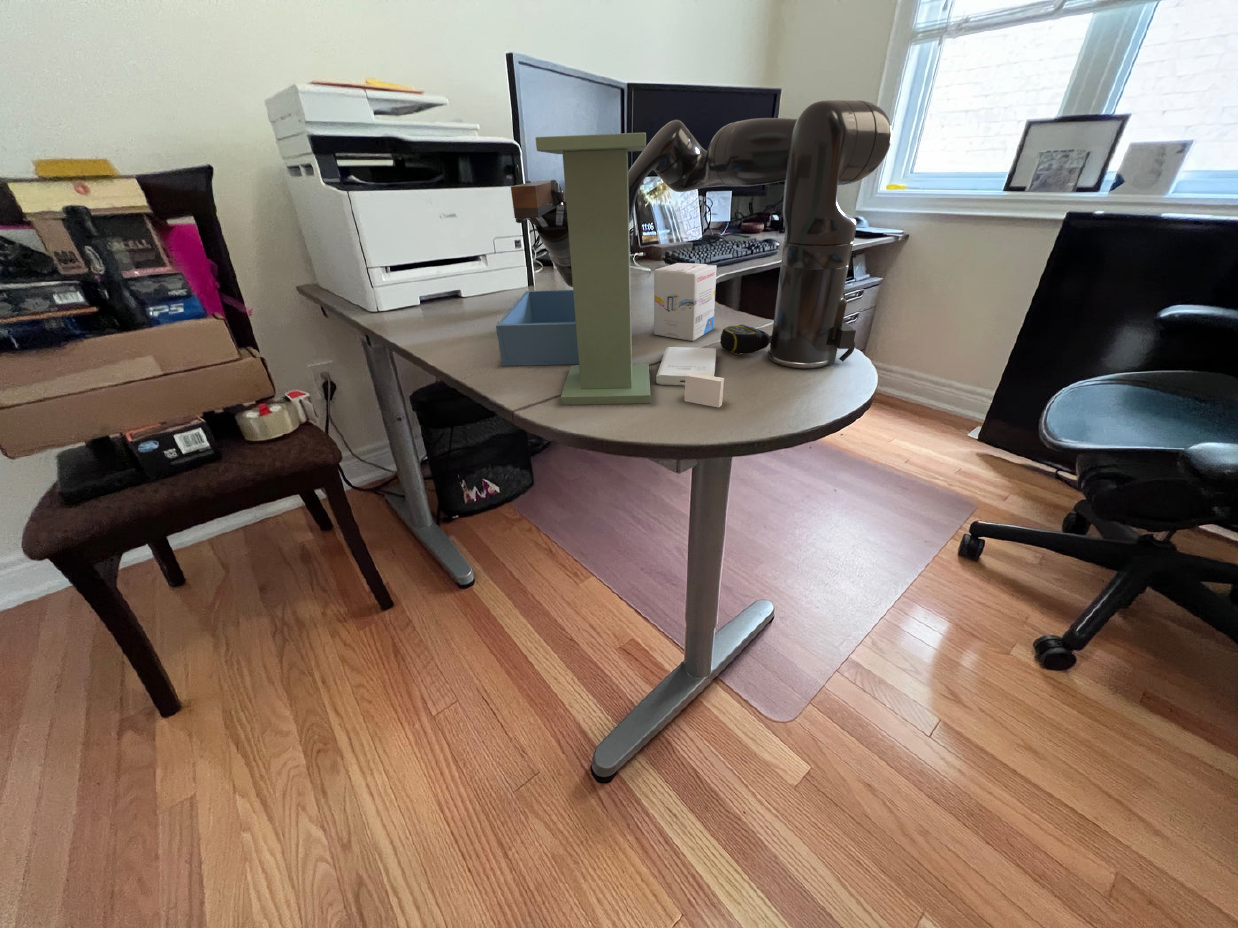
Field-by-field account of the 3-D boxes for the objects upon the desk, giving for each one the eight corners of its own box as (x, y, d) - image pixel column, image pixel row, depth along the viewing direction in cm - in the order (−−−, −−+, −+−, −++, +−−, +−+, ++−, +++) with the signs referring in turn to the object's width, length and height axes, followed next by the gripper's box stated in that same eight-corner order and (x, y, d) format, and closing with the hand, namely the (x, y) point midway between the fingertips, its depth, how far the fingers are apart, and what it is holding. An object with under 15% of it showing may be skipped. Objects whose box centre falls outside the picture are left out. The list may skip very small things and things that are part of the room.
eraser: (719, 407, 64) (721, 381, 62) (684, 401, 66) (685, 375, 64) (722, 404, 65) (724, 377, 63) (687, 398, 67) (688, 372, 65)
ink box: (675, 323, 98) (677, 261, 91) (714, 329, 93) (718, 264, 87) (652, 335, 92) (652, 268, 86) (692, 342, 87) (695, 272, 81)
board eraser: (558, 206, 87) (556, 180, 85) (538, 217, 70) (535, 185, 68) (539, 206, 88) (536, 181, 85) (514, 218, 71) (510, 186, 68)
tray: (595, 322, 100) (594, 289, 97) (585, 364, 79) (582, 323, 76) (530, 324, 101) (525, 291, 97) (502, 366, 80) (495, 325, 76)
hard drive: (715, 358, 80) (713, 387, 70) (665, 356, 81) (655, 384, 71) (716, 348, 79) (714, 376, 69) (666, 346, 81) (655, 373, 70)
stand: (648, 366, 77) (647, 139, 62) (650, 409, 64) (651, 132, 48) (572, 368, 78) (553, 143, 62) (559, 411, 64) (530, 137, 49)
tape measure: (770, 353, 81) (773, 330, 79) (737, 361, 78) (740, 338, 76) (742, 342, 86) (744, 321, 84) (711, 349, 83) (712, 327, 81)
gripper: (523, 214, 98) (497, 164, 80) (593, 211, 97) (583, 161, 80) (523, 252, 98) (498, 211, 81) (594, 250, 97) (583, 207, 80)
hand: (540, 186), depth 80 cm, fingers closed on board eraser, 3 cm apart
